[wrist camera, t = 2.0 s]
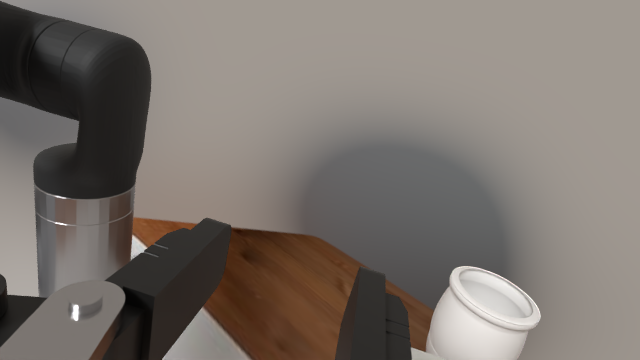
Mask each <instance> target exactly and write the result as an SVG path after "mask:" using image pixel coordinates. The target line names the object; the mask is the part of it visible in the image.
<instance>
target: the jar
mask: <svg viewBox="0 0 640 360" xmlns="http://www.w3.org/2000/svg"><path fill="white" fill-rule="evenodd" d="M540 317H541V315H540V311H539V309H538V307H537V305H536V304H535V303H534V301H533V300H532V299H531V298H530V297H529V296H528V295H527V294H526V293H525V292H524V291H522V290H521V289H520V288H519V287H517V286H516V285H514V284H513V283H511V282H510V281H508V280H506V279H504V278H502V277H501V276H499V275H496V274H494V273H492V272H489V271H486V270H484V269H480V268H476V267H469V266H463V267H458V268H456V269H455V270H453V272H452V274H451V276H450V287H448V288H447V290H446V291H445V292H444V294H443V296H442V297H441V299H440V300H439V302H438V304H437V306H436V309H435V311H434V314H433V317H432V321H431V325H430V331H429V334H428V338H427V343H426V353H429V354H432V355H435V356H438V357H441V358H444V359H445V360H517V359H518V357H519V355H520V353H521V352H522V349H523V347H524V344H525V341H526V338H527V334H528V330H530V329H532V328H534V327H535V326H536V325H537V324H538V322H539V320H540Z"/></svg>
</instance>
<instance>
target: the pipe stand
mask: <svg viewBox="0 0 640 360" xmlns="http://www.w3.org/2000/svg"><path fill="white" fill-rule="evenodd" d="M411 353H412V360H445V359H444V358H441V357H438V356H435V355H432V354H429V353H426V352H423V351H420V350H417V349H414V348H411Z"/></svg>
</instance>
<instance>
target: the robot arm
mask: <svg viewBox="0 0 640 360" xmlns="http://www.w3.org/2000/svg"><path fill="white" fill-rule="evenodd" d="M150 92H151V70H150V65H149V61H148V58H147V55H146V53H145V51H144V50H143V48H142V47H141V46H140V45H139V44H138V43H137V42H136V41H135V40H133V39H131V38H129V37H126V36H123V35H120V34H117V33H113V32H109V31H106V30H102V29H98V28H94V27H91V26H87V25H83V24H79V23H76V22H72V21H69V20H65V19H61V18H56V17H52V16H47V15H42V14H38V13H35V12H32V11H28V10H25V9H22V8H19V7H16V6H13V5H10V4H7V3H4V2H1V1H0V97H2V98H6V99H10V100H13V101H16V102H20V103H23V104H27V105H29V106H32V107H35V108H37V109H40V110H43V111H46V112H49V113H53V114H57V115H60V116H63V117H67V118H70V119H74V120H77V121H79V130H78V138H77V143H71V144H64V145H58V146H54V147H51V148H48V149H45V150H43V151H42V152H40V153H39V154H38V155H37V156H36V158H35V160H34V166H33V168H34V169H33V170H34V171H33V172H34V194H35V195H34V196H35V216H36V237H37V238H36V239H37V263H38V289H39V297H31V296H17V295H7V285H6V280H5V278H4V277H3V276H2V275H1V274H0V360H162V358H163V357H164V356H165V355H166V353H167V352H168V351H169V349H170V348H171V347H172V345H173V344H174V343H175V342H176V340H177V339H178V338H179V336H180V335H181V334H182V333H183V331H184V330H185V329H186V327H187V326H188V325H189V323H190V322H191V321H192V320H193V318H194V317H195V316H196V314H197V313H198V312H199V310H200V309H201V308H202V307H203V305H204V304H205V303H206V301H207V300H208V299H209V297H210V296H211V295H212V294H213V292H214V291H215V290H216V288H217V287H218V285H219V283H220V281H221V279H222V276H223V273H224V269H225V264H226V259H227V253H228V247H229V242H230V236H231V225H228V224H226V223H222V222H219V221H216V220H213V219H210V218H205V219H203V220H202V221H201V222H200V223H199V224H197V225H196V226H195V227H194V228H193V229H191V230H189V229H186V228H182V229H179V230H176V231H173V232H170V233H167V234H166V235H164V236H163V237H162V238H160V239H159V240H158V241H156V242H155V244H154V245H151V246H150V247H148V248H147V249H146V250H144V253H140V254H139V255H138V256H136V257H135V258H134V259H132V260H131V245H132V230H133V214H134V196H135V182H136V172H137V169H138V166H139V163H140V160H141V157H142V153H143V147H144V138H145V130H146V122H147V115H148V108H149V101H150ZM130 260H131V261H130ZM408 328H409V322H408V312H407V310H406V308H405V307H404V305H403V303H402V301H401V300H400V298H399V297H397V296H394V295H391V294H388V293H385V274H383V273H380V272H377V271H374V270H371V269H367V268H364V267H361V266H360V268H359V270H358V273H357V276H356V279H355V282H354V285H353V288H352V291H351V294H350V297H349V300H348V303H347V306H346V309H345V312H344V316H343V319H342V323H341V328H340V333H339V339H338V345H337V351H336V356H335V360H412V353H411V343H410V333H409V329H408Z"/></svg>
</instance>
